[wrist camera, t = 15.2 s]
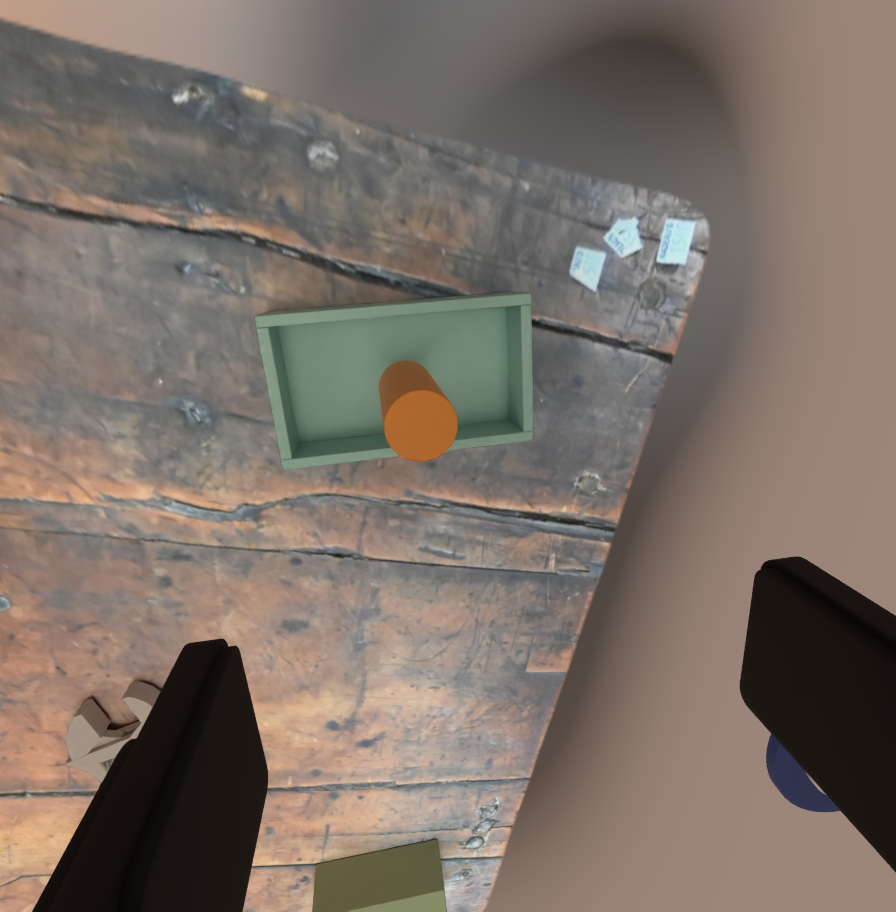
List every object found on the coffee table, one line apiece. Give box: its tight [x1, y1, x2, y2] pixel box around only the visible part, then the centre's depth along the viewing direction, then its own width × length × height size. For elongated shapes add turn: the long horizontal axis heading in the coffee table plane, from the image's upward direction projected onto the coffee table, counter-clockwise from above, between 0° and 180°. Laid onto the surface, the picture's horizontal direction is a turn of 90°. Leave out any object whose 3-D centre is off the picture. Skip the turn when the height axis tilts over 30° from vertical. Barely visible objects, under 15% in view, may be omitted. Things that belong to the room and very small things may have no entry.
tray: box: [254, 292, 533, 470], centre depth 30 cm, size 8×14×4 cm, turn 94°
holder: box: [312, 839, 447, 912], centre depth 43 cm, size 6×10×4 cm, turn 94°
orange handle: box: [378, 360, 458, 461], centre depth 25 cm, size 3×3×12 cm
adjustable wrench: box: [66, 682, 161, 783], centre depth 38 cm, size 25×6×2 cm, turn 172°
